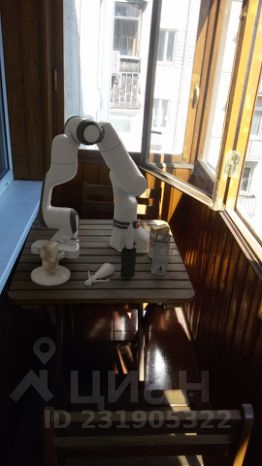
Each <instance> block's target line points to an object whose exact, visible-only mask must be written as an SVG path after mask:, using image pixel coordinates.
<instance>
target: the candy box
mask: <svg viewBox="0 0 262 466" xmlns="http://www.w3.org/2000/svg"><path fill="white" fill-rule="evenodd" d="M170 230H171V226H170V225H169V224H166V223H162V224H158V225H154V226H153V225H152V226H150V231H149V236H150V240H149V252H148V253H147V254H148V255H147V256H148V258H151V259H152V257H153V247H154V240H155V237H156V234H157V233H163V234H170V232H171V231H170Z"/></svg>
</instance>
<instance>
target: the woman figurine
mask: <svg viewBox="0 0 262 466" xmlns="http://www.w3.org/2000/svg"><path fill="white" fill-rule="evenodd" d="M115 266H116V265H115V264H113V265H112V264H111V262H109V263H108V262H106V263H103V264H102V265H101V266H100V268H99V269H98V270H97V271H96V272H95V273H94V274H92V275H90V271H87V274H88V279H86V280H85V281H84V285H85V286H87V287H89V286H92V285H93V283H94V284H95V283H98V282H110V281H111V280H110V279H109V278H107V279H103V278H106V277H108V276H110V275H113V274H114V273H115ZM97 279H98V280H97ZM91 284H92V285H91Z"/></svg>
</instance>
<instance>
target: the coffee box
mask: <svg viewBox="0 0 262 466" xmlns="http://www.w3.org/2000/svg"><path fill="white" fill-rule="evenodd" d="M171 236H172V235H171V234H170V233H169V234H163V233H157V234H156V237H155V240H154V247H153V257H152V258H151V259H152V260H151V269H150V273H151V274H154V275H159V276H166V273H167V267H168V263H169V254H170V245H171Z"/></svg>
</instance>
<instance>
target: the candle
mask: <svg viewBox="0 0 262 466" xmlns="http://www.w3.org/2000/svg"><path fill="white" fill-rule="evenodd" d="M133 240H134V228H133V225H132V222H130V226H129V227H128V229H127V239H126V246H124V248H123V249H122V252H121V261H120V273H119V277H120V278H123V279H126V280H131V279H132V278H133V277H135V271H136V260H137V253H136V248H135V247H134V246H133Z"/></svg>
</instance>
